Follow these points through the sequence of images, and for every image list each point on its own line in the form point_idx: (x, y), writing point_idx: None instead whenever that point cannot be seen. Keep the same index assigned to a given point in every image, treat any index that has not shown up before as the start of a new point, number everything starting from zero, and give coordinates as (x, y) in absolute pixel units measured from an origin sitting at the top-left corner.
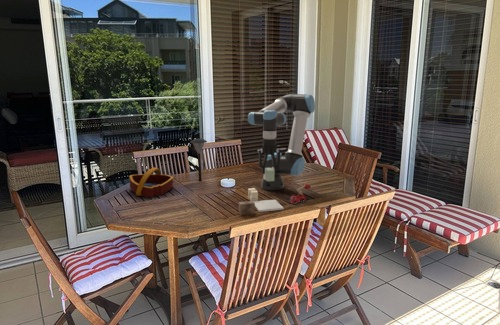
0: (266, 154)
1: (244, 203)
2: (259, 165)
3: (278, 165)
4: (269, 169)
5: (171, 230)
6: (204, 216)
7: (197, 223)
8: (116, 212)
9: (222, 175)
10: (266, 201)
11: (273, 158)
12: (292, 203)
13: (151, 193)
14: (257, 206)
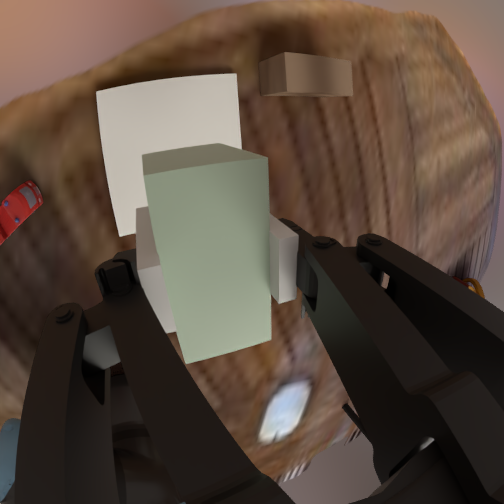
0: (490, 412)
1: (333, 65)
2: (382, 273)
3: (58, 313)
4: (215, 259)
5: (456, 50)
6: (413, 101)
7: (426, 58)
8: (494, 190)
9: (283, 448)
10: None
11: (196, 432)
12: (34, 184)
13: (460, 280)
14: (234, 129)
